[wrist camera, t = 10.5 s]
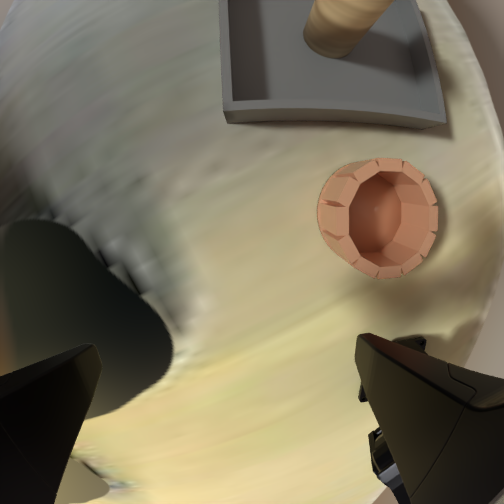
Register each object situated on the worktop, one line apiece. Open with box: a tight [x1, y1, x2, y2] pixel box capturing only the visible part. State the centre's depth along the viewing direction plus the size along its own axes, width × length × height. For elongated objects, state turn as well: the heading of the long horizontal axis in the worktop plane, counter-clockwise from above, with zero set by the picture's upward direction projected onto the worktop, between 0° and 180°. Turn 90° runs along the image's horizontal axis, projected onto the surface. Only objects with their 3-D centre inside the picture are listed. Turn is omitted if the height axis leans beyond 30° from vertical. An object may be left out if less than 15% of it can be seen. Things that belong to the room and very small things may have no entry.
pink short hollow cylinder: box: [317, 158, 438, 279], centre depth 19 cm, size 8×8×4 cm
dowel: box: [303, 0, 394, 59], centre depth 12 cm, size 4×4×10 cm
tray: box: [219, 0, 447, 129], centre depth 16 cm, size 14×16×4 cm
